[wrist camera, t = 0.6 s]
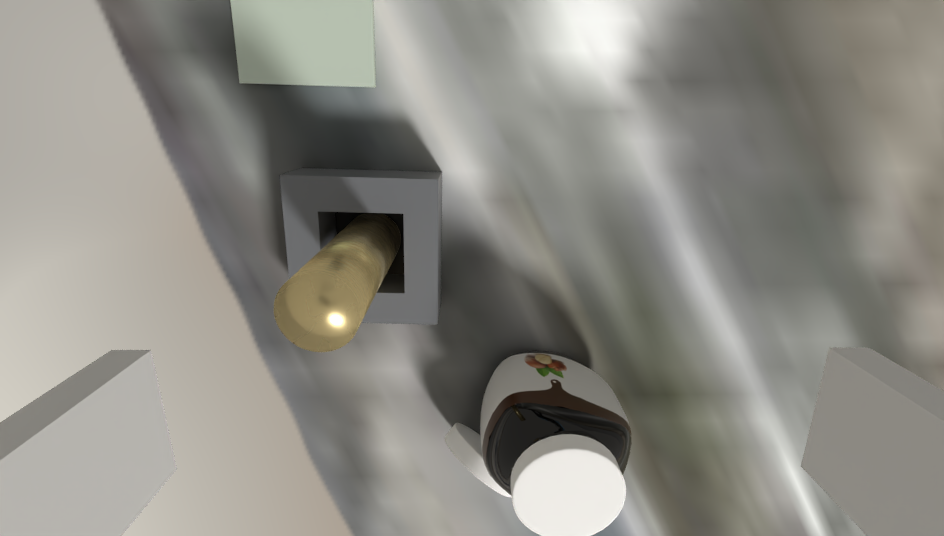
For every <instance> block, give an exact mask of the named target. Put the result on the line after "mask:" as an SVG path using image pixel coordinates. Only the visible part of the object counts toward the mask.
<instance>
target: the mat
mask: <svg viewBox="0 0 944 536" xmlns="http://www.w3.org/2000/svg"><path fill="white" fill-rule="evenodd" d="M230 2H231V11H232V20H233V29H234V38H235V46H236V55H237V64H238V73H239V82H240V83H245V84H279V85H313V86H347V87H376V73H375V41H374V9H373V0H230Z"/></svg>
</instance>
